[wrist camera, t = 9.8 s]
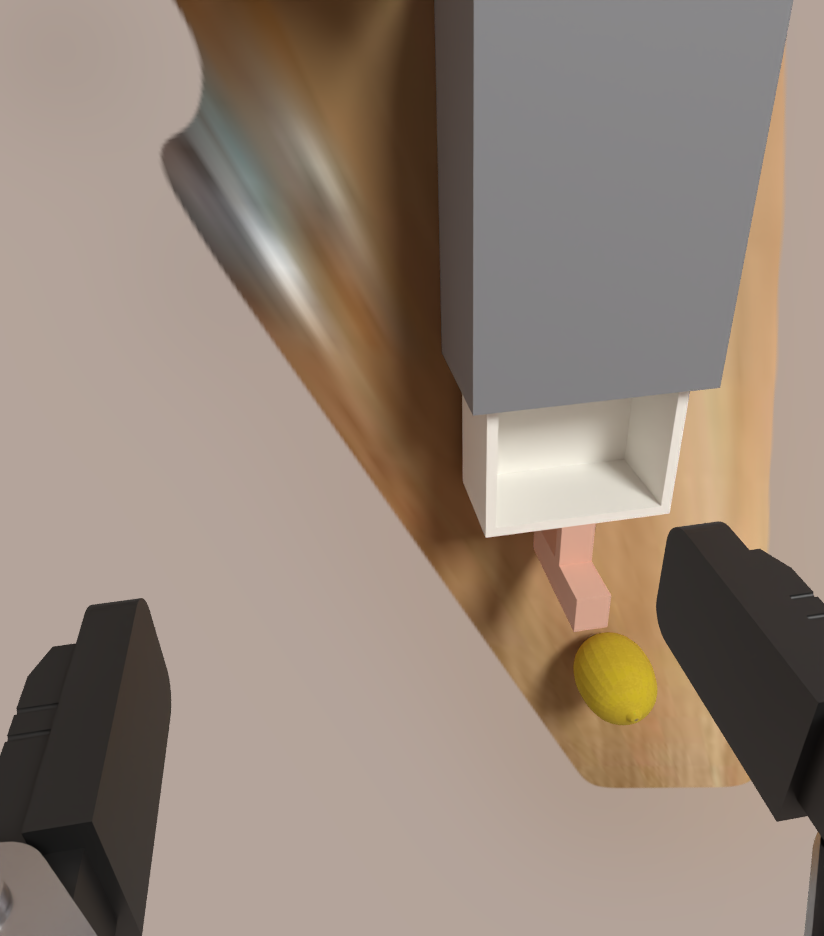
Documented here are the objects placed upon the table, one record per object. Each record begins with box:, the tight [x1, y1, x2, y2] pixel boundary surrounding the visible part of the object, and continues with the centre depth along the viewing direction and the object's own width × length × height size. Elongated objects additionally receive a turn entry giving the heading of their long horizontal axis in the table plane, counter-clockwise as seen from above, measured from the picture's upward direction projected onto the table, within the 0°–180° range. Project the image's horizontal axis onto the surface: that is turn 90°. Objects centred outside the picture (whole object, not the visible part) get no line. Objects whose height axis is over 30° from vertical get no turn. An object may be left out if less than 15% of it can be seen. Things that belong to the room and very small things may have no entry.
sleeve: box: [434, 0, 793, 416], centre depth 37 cm, size 20×13×8 cm, turn 3°
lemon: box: [573, 632, 657, 725], centre depth 56 cm, size 6×6×8 cm
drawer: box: [462, 391, 690, 632], centre depth 42 cm, size 24×11×9 cm, turn 3°
